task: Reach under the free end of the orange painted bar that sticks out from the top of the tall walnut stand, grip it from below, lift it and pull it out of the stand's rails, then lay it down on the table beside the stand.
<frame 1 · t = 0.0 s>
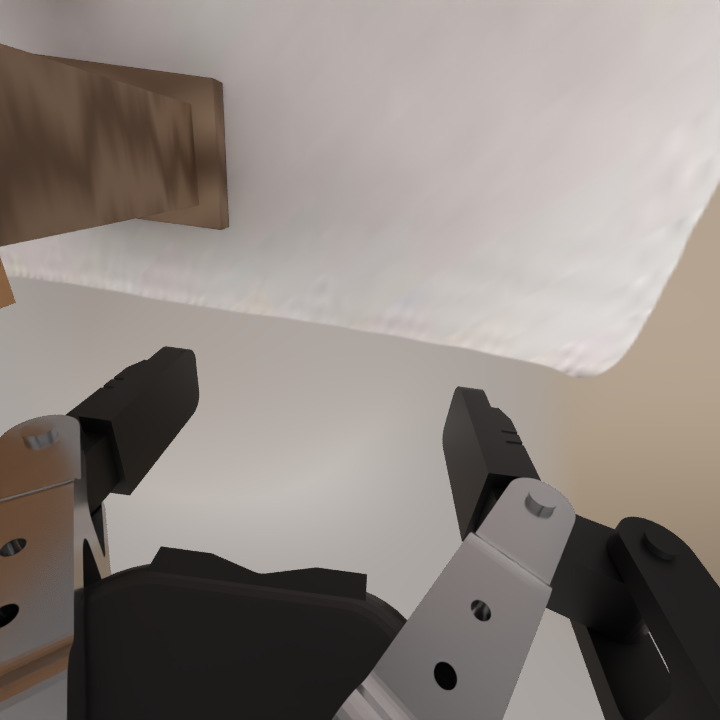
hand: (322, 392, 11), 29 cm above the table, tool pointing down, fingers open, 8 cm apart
walnut stand: (142, 149, 35), on the table
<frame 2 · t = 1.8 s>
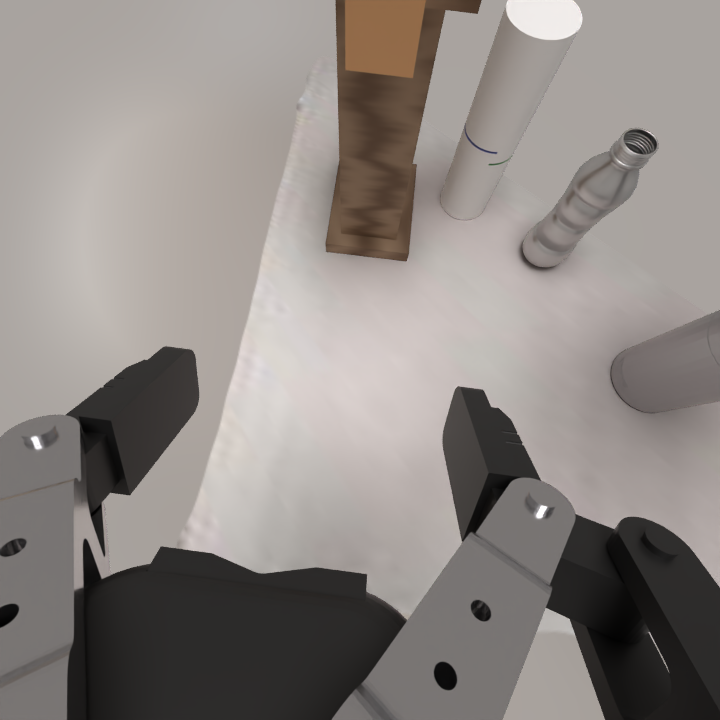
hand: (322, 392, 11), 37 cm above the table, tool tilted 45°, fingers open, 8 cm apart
walnut stand: (372, 211, 57), on the table
cylindrical container: (462, 201, 58), on the table
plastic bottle: (538, 254, 56), on the table
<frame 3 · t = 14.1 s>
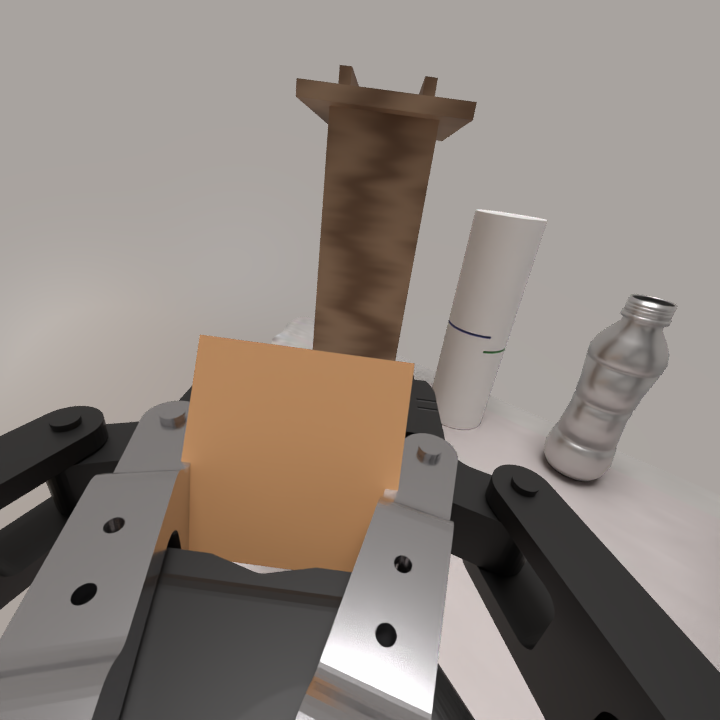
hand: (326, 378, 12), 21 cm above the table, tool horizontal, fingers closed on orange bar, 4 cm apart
orange bar: (325, 450, 17), point 16 cm above the table, tilted 29°, touching gripper
walnut stand: (347, 415, 46), on the table
cylindrical container: (453, 414, 49), on the table
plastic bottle: (568, 469, 42), on the table
when the fingers open (12 cm above the table, at t = 16.6 s): orange bar drops 7 cm, on the table.
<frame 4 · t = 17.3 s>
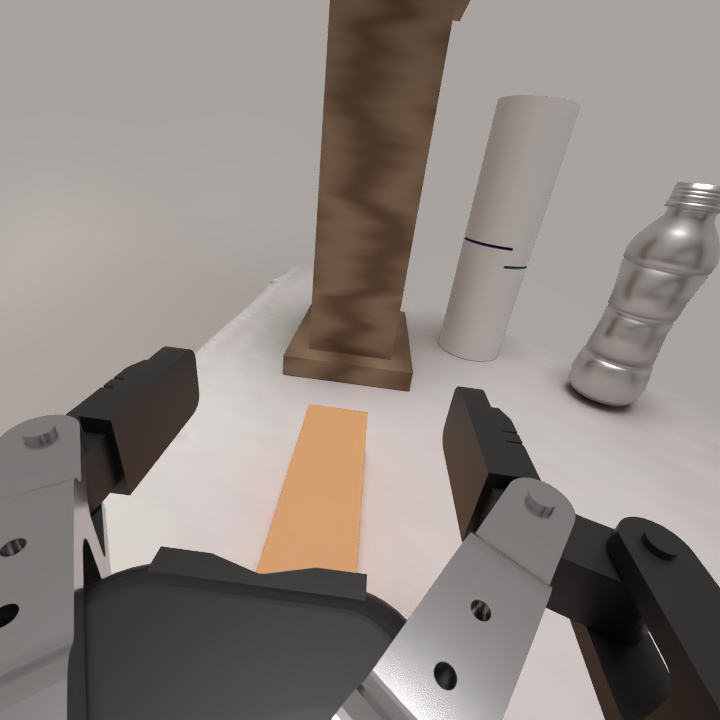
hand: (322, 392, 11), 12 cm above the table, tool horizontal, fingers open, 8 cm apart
orange bar: (308, 594, 18), on the table
walnut stand: (352, 346, 42), on the table
cylindrical container: (467, 348, 45), on the table
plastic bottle: (596, 397, 38), on the table
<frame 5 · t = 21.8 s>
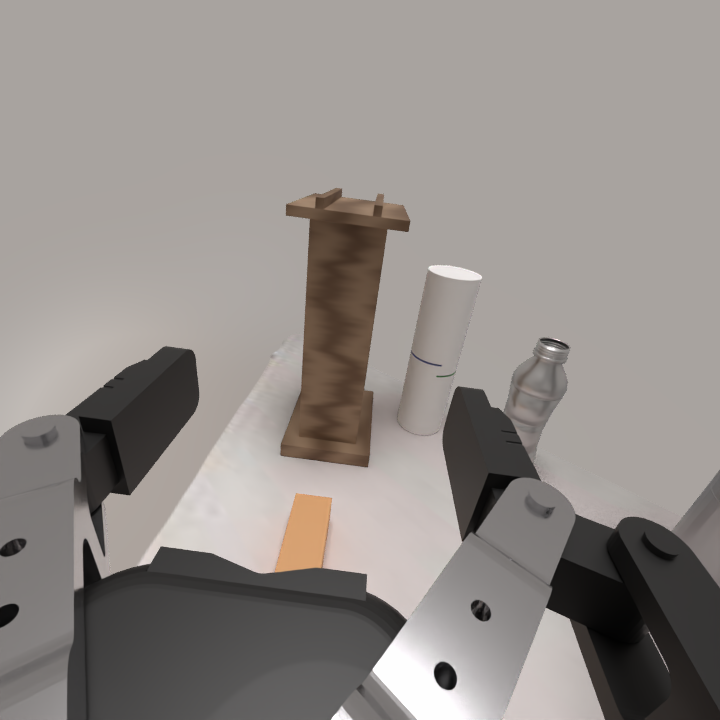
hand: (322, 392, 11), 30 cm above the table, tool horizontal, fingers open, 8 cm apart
orange bar: (293, 613, 34), on the table
walnut stand: (331, 424, 57), on the table
cylindrical container: (418, 422, 61), on the table
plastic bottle: (503, 466, 54), on the table
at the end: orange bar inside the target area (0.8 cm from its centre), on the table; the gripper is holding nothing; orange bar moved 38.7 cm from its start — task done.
